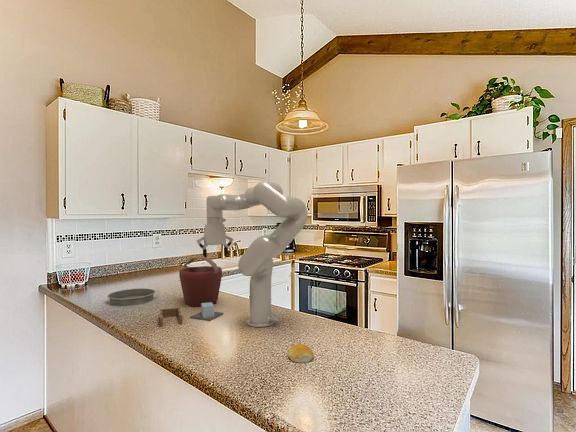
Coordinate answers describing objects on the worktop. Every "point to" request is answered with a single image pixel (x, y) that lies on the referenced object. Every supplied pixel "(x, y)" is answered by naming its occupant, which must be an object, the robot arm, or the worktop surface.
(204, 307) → the block
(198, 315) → the mat
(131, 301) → the cake pan
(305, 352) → the bread roll
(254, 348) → the worktop surface
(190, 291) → the bucket
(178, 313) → the shelf bay
